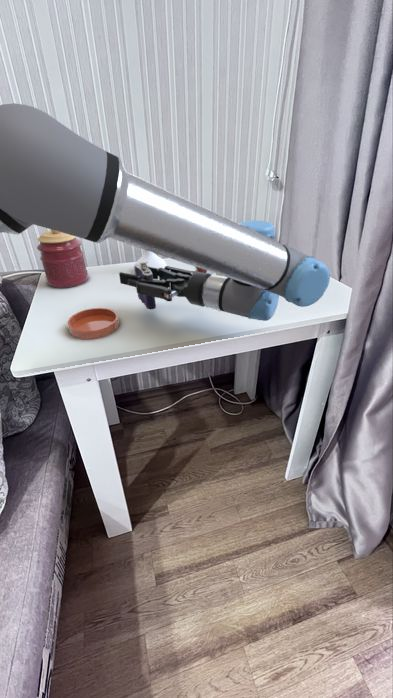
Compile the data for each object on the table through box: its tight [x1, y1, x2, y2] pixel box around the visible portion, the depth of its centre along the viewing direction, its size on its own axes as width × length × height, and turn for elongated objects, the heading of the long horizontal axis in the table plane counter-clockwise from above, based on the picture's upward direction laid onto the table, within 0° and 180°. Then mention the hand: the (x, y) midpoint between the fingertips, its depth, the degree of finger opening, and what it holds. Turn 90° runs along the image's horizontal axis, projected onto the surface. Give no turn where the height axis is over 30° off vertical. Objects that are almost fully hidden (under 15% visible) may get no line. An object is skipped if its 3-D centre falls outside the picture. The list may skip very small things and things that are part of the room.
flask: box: [134, 262, 157, 311], centre depth 81 cm, size 9×3×11 cm, turn 26°
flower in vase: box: [133, 250, 168, 270], centre depth 105 cm, size 13×11×25 cm
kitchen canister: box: [36, 229, 89, 289], centre depth 101 cm, size 13×13×18 cm
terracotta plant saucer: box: [67, 307, 120, 340], centre depth 80 cm, size 12×12×2 cm
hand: (129, 273), depth 83 cm, fingers closed on flask, 6 cm apart
